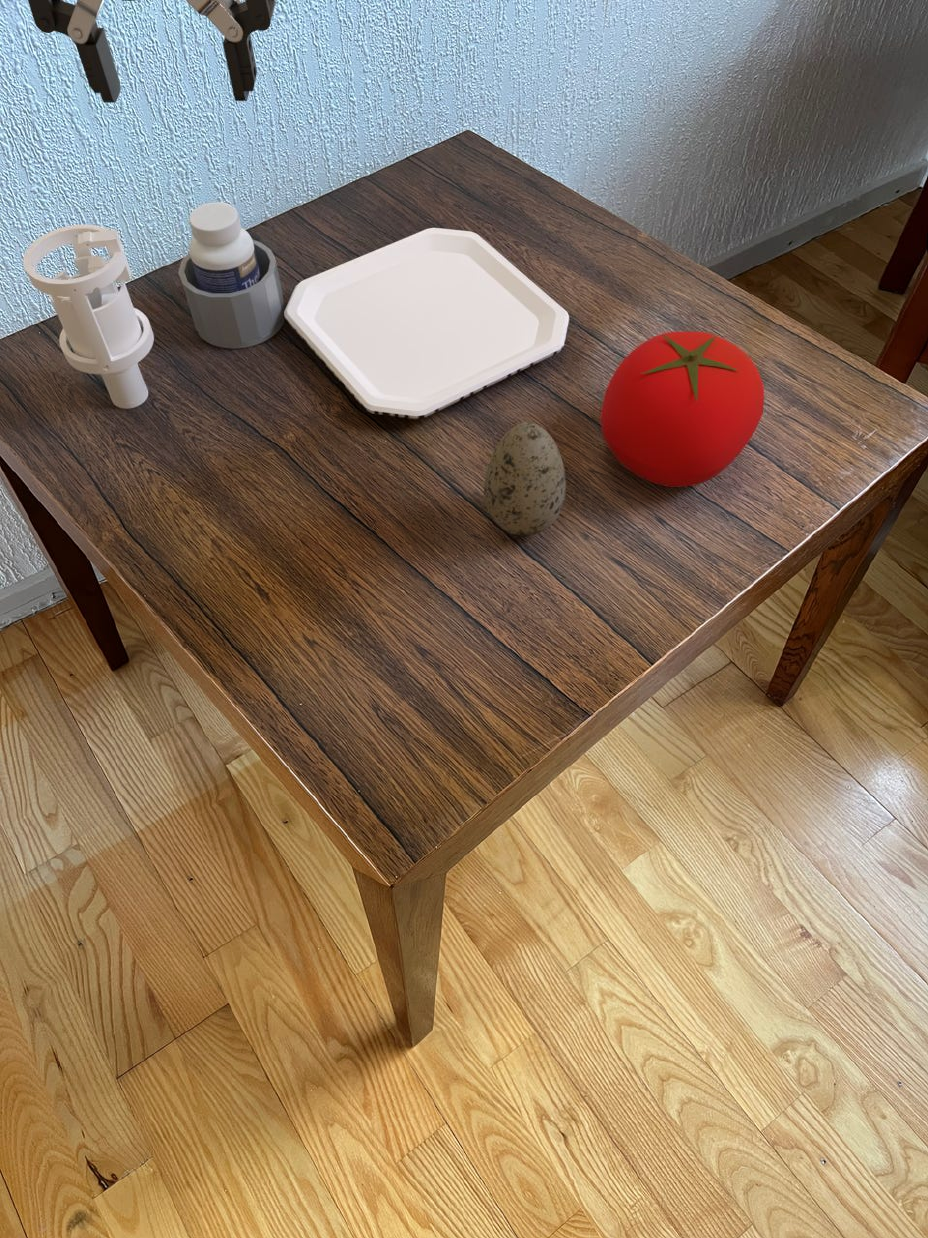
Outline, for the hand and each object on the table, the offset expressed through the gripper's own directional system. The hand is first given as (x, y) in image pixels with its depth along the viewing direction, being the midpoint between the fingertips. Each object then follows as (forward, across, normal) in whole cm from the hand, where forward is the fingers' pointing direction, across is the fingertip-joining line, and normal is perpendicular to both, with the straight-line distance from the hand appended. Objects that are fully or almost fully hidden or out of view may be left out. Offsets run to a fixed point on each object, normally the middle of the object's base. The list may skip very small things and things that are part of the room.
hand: (177, 95), depth 62 cm
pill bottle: (+24, +2, -8) cm, 25 cm away
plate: (+24, -15, -6) cm, 29 cm away
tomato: (+24, -35, +9) cm, 44 cm away
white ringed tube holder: (+24, +10, +2) cm, 26 cm away
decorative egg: (+24, -23, +16) cm, 37 cm away
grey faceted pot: (+24, +2, -8) cm, 25 cm away
